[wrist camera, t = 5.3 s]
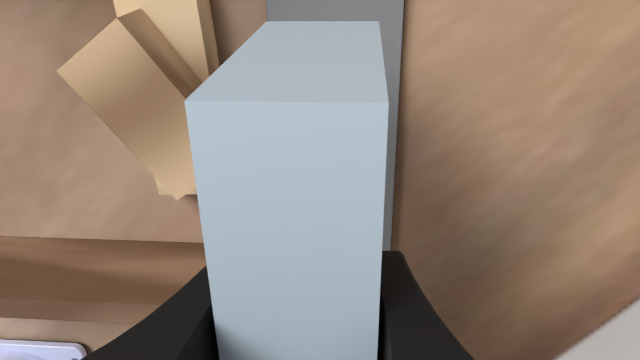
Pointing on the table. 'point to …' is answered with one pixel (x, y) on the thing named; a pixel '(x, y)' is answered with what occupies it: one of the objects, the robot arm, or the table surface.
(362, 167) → the pale blue block
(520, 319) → the table surface
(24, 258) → the rack
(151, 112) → the offcut upper
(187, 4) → the offcut lower
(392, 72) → the grey block
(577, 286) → the table surface
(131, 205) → the table surface
